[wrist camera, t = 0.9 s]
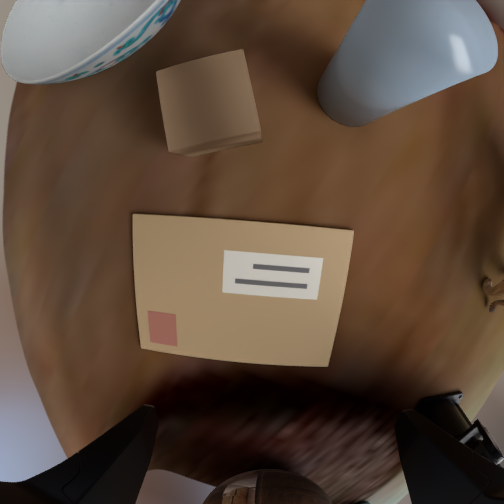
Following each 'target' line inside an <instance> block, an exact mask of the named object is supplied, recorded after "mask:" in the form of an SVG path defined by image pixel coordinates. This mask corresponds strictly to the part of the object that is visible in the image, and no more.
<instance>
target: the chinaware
mask: <svg viewBox="0 0 504 504" xmlns="http://www.w3.org/2000/svg"><path fill="white" fill-rule="evenodd" d="M180 1H181V0H16V2H15V4H14V5H13V7H12V9H11V12H10V14H9V16H8V18H7V21H6V23H5V26H4V30H3V34H2V39H1V46H0V56H1V62H2V65H3V68H4V70H5V72H6V73H7V74H8V75H9V76H10V77H11V78H12V79H13V80H15V81H18V82H21V83H25V84H53V83H62V82H68V81H73V80H77V79H81V78H84V77H88V76H91V75H93V74H96V73H99V72H101V71H103V70H106V69H108V68H110V67H112V66H114V65H116V64H117V63H119V62H121V61H123V60H124V59H126V58H127V57H129V56H130V55H132V54H133V53H135V52H136V51H137V50H139V49H140V48H141V47H143V46H144V45H145V44H146V43H147V42H148V41H149V40H151V39H152V38H153V37H154V36H155V35H156V34H157V33H158V32H159V30H160V29H161V28H162V27H163V26H164V25H165V24H166V22H167V21H168V20H169V18H170V17H171V16H172V14H173V13H174V11H175V10H176V8H177V6H178V4H179V3H180Z"/></svg>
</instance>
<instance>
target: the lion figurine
mask: <svg viewBox="0 0 504 504" xmlns="http://www.w3.org/2000/svg"><path fill="white" fill-rule="evenodd" d="M482 288H483V291H484V292H485V293H486V294H488V295H490V296H493V297H496V298H498V297H500V296H502V295H503V294H504V280H502V281H501V282H500V283H499V284H498V285H496V286H495V287H493V288H492V280H491V279H486V280H485V281H484V282H483V286H482ZM498 305H502V306H504V300H497V301H494V302H493V303H492V304H491V305H490V309H489V312H493V311H494V310H495V308H496V307H497V306H498Z"/></svg>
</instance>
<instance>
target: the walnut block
mask: <svg viewBox="0 0 504 504" xmlns="http://www.w3.org/2000/svg"><path fill="white" fill-rule="evenodd" d="M156 76H157V83H158V90H159V97H160V104H161V110H162V116H163V122H164V128H165V134H166V140H167V145H168V151H169V152H171V153H176V154H180V155H184V156H188V157H195V156H199V155H203V154H207V153H212V152H216V151H221V150H225V149H230V148H235V147H240V146H245V145H250V144H255V143H261V142H262V136H261V128H260V123H259V119H258V114H257V109H256V104H255V100H254V95H253V90H252V86H251V81H250V77H249V72H248V68H247V63H246V59H245V55H244V50H243V49H240V50H235V51H230V52H225V53H220V54H216V55H212V56H208V57H204V58H200V59H196V60H192V61H188V62H185V63H181V64H178V65H175V66H171V67H168V68H165V69H162V70H159V71H156Z"/></svg>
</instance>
